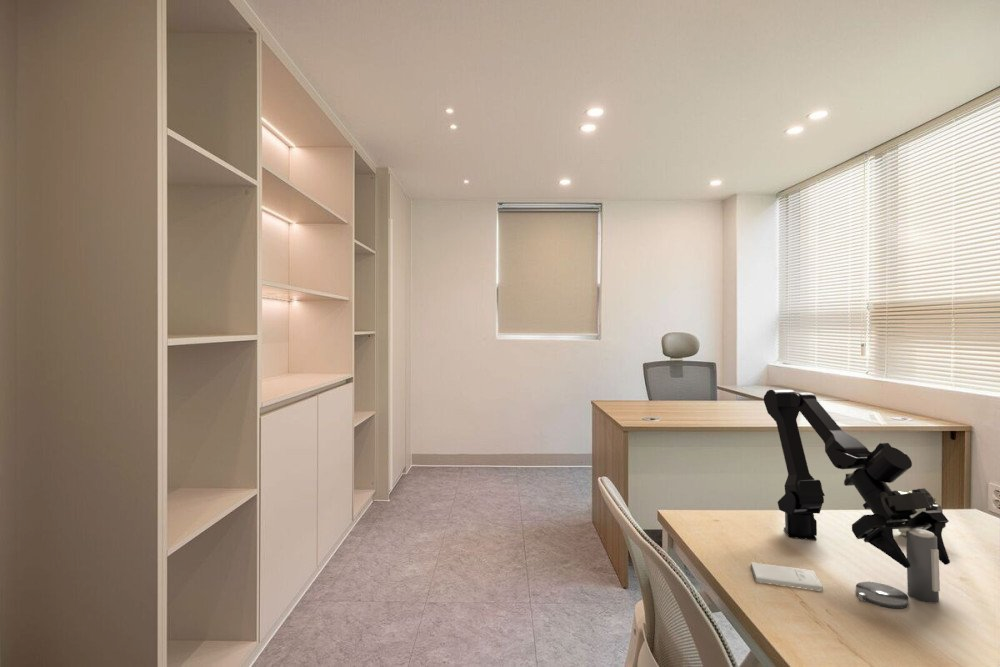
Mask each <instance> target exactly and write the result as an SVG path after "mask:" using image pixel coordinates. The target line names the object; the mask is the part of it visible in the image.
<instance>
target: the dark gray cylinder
mask: <svg viewBox="0 0 1000 667" xmlns="http://www.w3.org/2000/svg"><path fill="white" fill-rule="evenodd" d="M905 538H906V539H905V542H906V543H905V546H906V548H905V549H906V558H907V560H908V561H909V563H910V565H911V566H910V567H909V568H906V577H907V578H906V579H907V583H906V584H907V596H908V597H911V598H912V599H914V600H917V601H920V602H922V603H928V604H938V603H939V602H940V592H941V588H940V587H941V586H940V583H941V582H940V581H941V580H940V560H939V550H937V537H936V536H935V535H934V533H932V532H930V531H927V530H922V529H915V528H912V529H909V530H908V531H906V537H905Z"/></svg>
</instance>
